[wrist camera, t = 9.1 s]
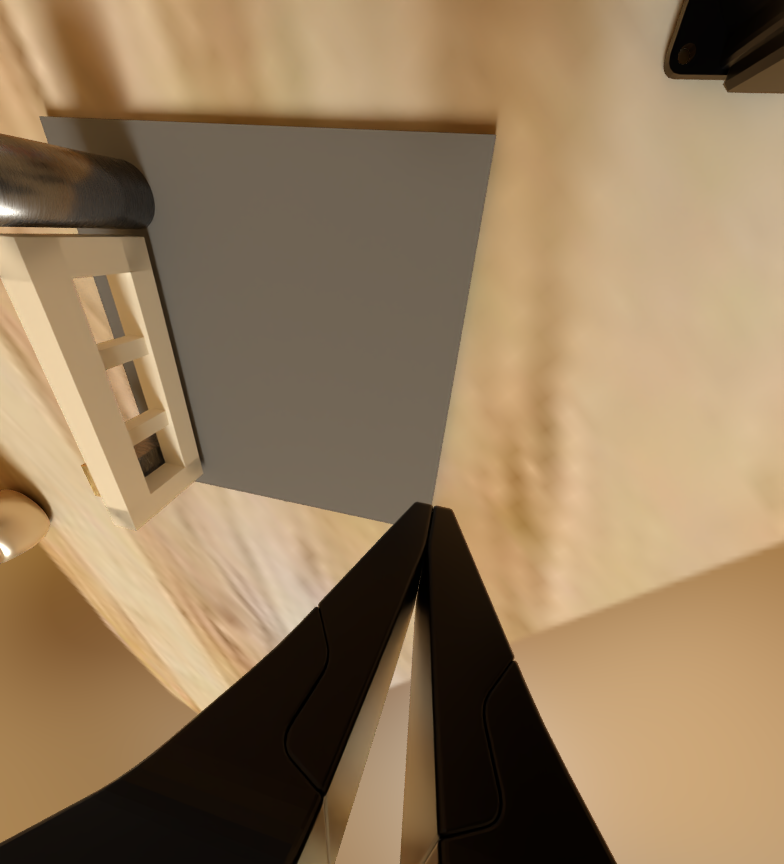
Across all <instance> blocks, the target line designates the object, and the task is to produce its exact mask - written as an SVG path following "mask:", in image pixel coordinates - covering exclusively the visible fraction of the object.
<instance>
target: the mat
mask: <svg viewBox="0 0 784 864" xmlns="http://www.w3.org/2000/svg"><path fill="white" fill-rule="evenodd" d="M39 117H40V120H41V123H42V126H43V129H44V132H45V135H46V138H47V141H48V144H52V145H56V146H61V147H66V148H70V149H75V150H80V151H84V152H89V153H94V154H99V155H103V156H108V157H113V158H117V159H122V160H125V161H127V162H129V163H131V164H133V165H134V166H135V167H136V168H137V169H138V170H139V171H140V172H141V173H142V174H143V175H144V177H145V178H146V180H147V182H148V184H149V186H150V188H151V190H152V193H153V197H154V202H155V214H154V218H153V220H152V222H151V224H150V225H149V226H148V227H146V228H144V229H103V228H77V230H78V233H79V234H121V235H131V236H140V237H144V239H145V243H146V247H147V251H148V255H149V259H150V263H151V267H152V271H153V275H154V279H155V283H156V287H157V291H158V295H159V299H160V303H161V307H162V311H163V315H164V319H165V323H166V327H167V331H168V335H169V339H170V343H171V347H172V351H173V355H174V359H175V362H176V366H177V370H178V374H179V378H180V382H181V386H182V390H183V394H184V398H185V402H186V406H187V410H188V414H189V418H190V422H191V426H192V430H193V434H194V438H195V442H196V446H197V450H198V454H199V458H200V462H201V466H202V470H203V474H202V475H201V476H200V477H199V478H198V479H197V480H195V481H196V482H200V483H205V484H210V485H214V486H219V487H223V488H228V489H233V490H237V491H242V492H247V493H251V494H256V495H260V496H265V497H270V498H274V499H279V500H284V501H288V502H293V503H297V504H302V505H307V506H311V507H316V508H321V509H325V510H330V511H334V512H339V513H344V514H348V515H353V516H358V517H362V518H367V519H371V520H376V521H381V522H385V523H390V524H394V523H395V522H396V521H397V520H398V519H399V518H400V517H401V516H402V515H403V514H404V513H405V512H406V511H407V510H408V509H409V508H410V507H411V505H412V504H413V503H415V502H422V503H427V504H431V505H432V501H433V495H434V489H435V483H436V478H437V472H438V466H439V460H440V455H441V449H442V443H443V437H444V432H445V426H446V420H447V414H448V409H449V403H450V397H451V391H452V386H453V380H454V374H455V369H456V363H457V357H458V351H459V346H460V340H461V334H462V328H463V323H464V317H465V311H466V305H467V300H468V294H469V288H470V282H471V277H472V271H473V265H474V259H475V254H476V248H477V242H478V236H479V231H480V225H481V219H482V213H483V208H484V202H485V196H486V190H487V185H488V179H489V173H490V167H491V162H492V156H493V150H494V145H495V139H496V135H489V134H464V133H439V132H415V131H390V130H365V129H340V128H316V127H291V126H266V125H241V124H217V123H192V122H167V121H142V120H118V119H93V118H68V117H43V116H39ZM93 277H94V280H95V283H96V286H97V289H98V292H99V295H100V298H101V301H102V304H103V307H104V310H105V313H106V315H107V318H108V321H109V324H110V327H111V330H112V333H113V336H114V339H116V338H120V337H123V336H125V333H124V330H123V327H122V324H121V321H120V318H119V314H118V311H117V308H116V305H115V302H114V299H113V295H112V292H111V289H110V286H109V283H108V280H107V276H106V275H101V276H93ZM123 366H124V369H125V372H126V375H127V378H128V381H129V384H130V387H131V389H132V392H133V395H134V398H135V401H136V404H137V407H138V410H139V413H140V414H141V413H143V412H145V411H147V410H148V406H147V403H146V400H145V397H144V394H143V391H142V387H141V384H140V381H139V378H138V375H137V372H136V368H135V365H134V362H133V360H132V361H129V362H126V363H124V364H123Z"/></svg>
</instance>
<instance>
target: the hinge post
mask: <svg viewBox="0 0 784 864" xmlns="http://www.w3.org/2000/svg"><path fill="white" fill-rule="evenodd" d="M154 214H155V202H154V197H153V193H152V190H151V188H150V186H149V184H148V182H147V180H146V178H145V177H144V175H143V174H142V173H141V172H140V171H139V170H138V169H137V168H136V167H135V166H134V165H133V164H131V163H129V162H127V161H125V160H122V159H117V158H113V157H108V156H103V155H99V154H94V153H89V152H84V151H80V150H75V149H70V148H66V147H61V146H56V145H52V144H47V143H42V142H38V141H33V140H28V139H24V138H19V137H14V136H10V135H5V134H0V226H1V227H52V228H103V229H144V228H146V227H148V226H149V225H150V224H151V222H152V220H153V218H154Z"/></svg>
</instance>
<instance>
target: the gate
mask: <svg viewBox="0 0 784 864" xmlns="http://www.w3.org/2000/svg"><path fill="white" fill-rule="evenodd" d="M101 275H106V276H107V280H108V283H109V286H110V289H111V292H112V295H113V299H114V302H115V305H116V308H117V311H118V314H119V318H120V321H121V324H122V327H123V330H124V333H125V336H123V337H120V338H116V339H113V340H109V341H106V342H102V343H99V344H96V342H95V340H94V337H93V334H92V331H91V329H90V326H89V323H88V320H87V317H86V315H85V312H84V309H83V306H82V304H81V301H80V298H79V295H78V293H77V290H76V287H75V284H74V282H73V279H72V278H82V277H92V276H101ZM0 278H1V280H2V282H3V284H4V287H5V289H6V291H7V293H8V295H9V297H10V300H11V302H12V304H13V306H14V308H15V310H16V313H17V315H18V317H19V319H20V321H21V323H22V326H23V328H24V330H25V332H26V334H27V337H28V339H29V341H30V343H31V345H32V347H33V350H34V352H35V354H36V356H37V358H38V360H39V363H40V365H41V367H42V369H43V371H44V373H45V376H46V378H47V380H48V382H49V384H50V387H51V389H52V391H53V393H54V395H55V397H56V400H57V402H58V404H59V406H60V408H61V410H62V413H63V415H64V417H65V419H66V421H67V423H68V426H69V428H70V430H71V432H72V434H73V437H74V439H75V441H76V443H77V445H78V447H79V450H80V452H81V454H82V456H83V458H84V460H85V463H86V465H87V467H88V469H89V471H90V473H91V476H92V478H93V480H94V482H95V484H96V487H97V489H98V491H99V493H100V495H101V497H102V500H103V502H104V504H105V506H106V508H107V510H108V513H109V515H110V517H111V519H112V521H113V523H114V525H115V526H119V527H123V528H127V529H131V530H135V531H137V530H138V529H140V528H141V527H142V526H143V525H144V524H145V523H147V522H148V521H149V520H150V519H151V518H152V517H154V516H155V515H156V514H157V513H158V512H159V511H161V510H162V509H163V508H164V507H165V506H166V505H168V504H169V503H170V502H171V501H172V500H173V499H174V498H176V497H177V496H178V495H179V494H180V493H181V492H183V491H184V490H185V489H186V488H187V487H188V486H190V485H191V484H192V483H193V482H194V481H195V480H197V479H198V478H199V477H200V476H201V475H202V474H203V470H202V466H201V462H200V458H199V454H198V450H197V446H196V442H195V438H194V434H193V430H192V426H191V422H190V418H189V414H188V410H187V406H186V402H185V398H184V394H183V390H182V386H181V382H180V378H179V374H178V370H177V366H176V362H175V359H174V355H173V351H172V347H171V343H170V339H169V335H168V331H167V327H166V323H165V319H164V315H163V311H162V307H161V303H160V299H159V295H158V291H157V287H156V283H155V279H154V275H153V271H152V267H151V263H150V259H149V255H148V251H147V247H146V243H145V239H144V237H140V236H131V235H121V234H0ZM132 360H133V362H134V365H135V368H136V372H137V375H138V378H139V381H140V384H141V387H142V391H143V394H144V397H145V400H146V403H147V406H148V410H147V411H145V412H143V413H141V414H140V415H138V416H136V417H134V418H132V419H130V420H128V421H126V422H124V419H123V417H122V414H121V411H120V408H119V406H118V403H117V400H116V397H115V395H114V392H113V389H112V386H111V384H110V381H109V378H108V375H107V373H106V370H107V369H110V368H112V367H115V366H118V365H121V364H124V363H126V362H129V361H132ZM154 433H156V435H157V438H158V441H159V444H160V448H161V451H162V454H163V457H164V460H165V463H164V464H163V465H162V466H160V467H159V468H157V469H156V470H155V471H153V472H152V473H150V474H149V475H148V476H146V477H144V475H143V472H142V469H141V466H140V464H139V461H138V458H137V455H136V453H135V450H134V447H133V446H134V445H136V444H138V443H139V442H141V441H143V440H144V439H146V438H148V437H149V436H151V435H153V434H154Z"/></svg>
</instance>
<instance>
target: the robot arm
mask: <svg viewBox="0 0 784 864" xmlns="http://www.w3.org/2000/svg"><path fill="white" fill-rule="evenodd" d="M684 48H685V49H688V50H689V53H690V57H689V60H688V62H687V64H684V65H682V64H680V63H679V62H678V53H679V52H680V50H681V49H684ZM664 72H665V74H666V75H667V77H668V78H672V79H699V80H725V81H724V84H723V85H724V87H725V89H726V90H727V92H735V93H784V0H685V1H684V4H683V7H682V10H681V13H680V16H679V19H678V22H677V25H676V28H675V31H674V34H673V37H672V40H671V43H670V46H669V48H668V51H667V54H666V57H665V62H664ZM432 511H433V512H432ZM420 576H421V577H420ZM419 581H420V582H419ZM418 587H419V588H418ZM417 592H418V593H417ZM416 597H417V600H416ZM415 601H416V608H415V622H414V638H413V655H412V672H411V689H410V705H409V722H408V738H407V755H406V772H405V789H404V805H403V822H402V839H401V855H400V864H617V863H616V861H615V859H614V857H613V855H612V853H611V852H610V850H609V848H608V846H607V844H606V842H605V840H604V838H603V837H602V835H601V833H600V831H599V829H598V827H597V825H596V823H595V821H594V820H593V818H592V816H591V814H590V812H589V810H588V808H587V806H586V804H585V802H584V800H583V799H582V797H581V795H580V793H579V791H578V789H577V787H576V785H575V783H574V782H573V780H572V778H571V776H570V774H569V772H568V770H567V768H566V766H565V764H564V762H563V760H562V759H561V756H560V755H559V752H558V750H557V748H556V746H555V744H554V743H553V740H552V739H551V737H550V735H549V733H548V731H547V729H546V727H545V725H544V722H543V720H542V718H541V716H540V714H539V711H538V709H537V707H536V705H535V703H534V700H533V698H532V696H531V694H530V692H529V689H528V687H527V685H526V682H525V680H524V678H523V675H522V673H521V670H520V668H519V666H518V663H517V662H516V661H513V660H514V654H513V652H512V650H511V647H510V645H509V643H508V640H507V638H506V635H505V633H504V631H503V628H502V626H501V624H500V621H499V619H498V616H497V614H496V612H495V609H494V607H493V605H492V602H491V600H490V598H489V595H488V593H487V590H486V588H485V586H484V583H483V581H482V579H481V576H480V574H479V571H478V569H477V567H476V564H475V562H474V560H473V557H472V555H471V553H470V550H469V548H468V545H467V543H466V541H465V538H464V536H463V534H462V531H461V529H460V527H459V524H458V522H457V519H456V517H455V515H454V512H453V511H452V509H450V508H446V507H441V506H434V508H433V506H432V505H431V504H427V503H422V502H415V503H413V504H412V505H411V507H410V508H409V509H408V510H407V511H406V512H405V513H404V514H403V515H402V516H401V517H400V518H399V519H398V520H397V521H396V522H395V523H394V524H393V526H392V527H391V528H390V529H389V530H388V531H387V532H386V533H385V534H384V535H383V536H382V537H381V538H380V539H379V540H378V541H377V542H376V544H375V545H374V546H373V547H372V548H371V549H370V550H369V551H368V552H367V553H366V554H365V555H364V556H363V557H362V558H361V559H360V560H359V561H358V563H357V564H356V565H355V566H354V567H353V568H352V569H351V570H350V571H349V572H348V573H347V574H346V575H345V576H344V577H343V578H342V579H341V581H340V582H339V583H338V584H337V585H336V586H335V587H334V588H333V589H332V590H331V591H330V592H329V593H328V594H327V595H326V596H325V597H324V598H323V600H322V601H321V602H320V603H319V604H318V607H315V608H314V609H313V610H312V611H311V612H310V613H309V614H308V615H307V616H306V617H305V618H304V619H303V620H302V621H301V623H300V624H299V625H298V626H297V627H296V628H295V629H294V630H293V631H292V632H291V633H290V634H288V635H287V636H286V637H285V638H284V639H283V640H282V641H281V642H280V643H279V644H278V645H277V646H276V647H275V648H274V649H273V650H272V651H271V652H270V653H269V654H267V655H266V656H265V657H264V658H263V659H262V660H261V661H260V662H259V663H257V664H256V665H255V666H254V667H253V668H252V669H251V670H250V671H249V672H247V673H246V674H245V675H244V676H243V677H242V678H240V679H239V680H238V681H237V682H236V683H235V684H233V685H232V686H231V687H230V688H229V689H228V690H226V691H225V692H224V693H223V694H222V695H220V696H219V697H218V698H217V699H216V700H215V701H213V702H212V703H211V704H210V705H209V706H208V707H206V708H205V709H204V710H203V711H202V712H201V713H199V714H198V715H197V716H196V717H195V718H194V719H192V720H191V721H190V722H189V723H188V724H187V725H185V726H184V727H183V728H182V729H181V730H180V731H179V732H178V733H176V734H175V735H174V736H173V737H172V738H170V739H169V740H168V741H167V742H165V743H164V744H163V745H162V746H161V747H159V748H158V749H157V750H156V751H155V752H153V753H152V754H151V755H150V756H148V757H147V758H146V759H144V760H143V761H142V762H140V763H139V764H138V765H136V766H135V767H134V768H132V769H131V770H129V771H128V772H126V773H125V774H123V775H122V776H120V777H119V778H117V779H116V780H114V781H113V782H111V783H109V784H108V785H106V786H104V787H103V788H101V789H100V790H98V791H96V792H94V793H93V794H91V795H89V796H87V797H85V798H83V799H82V800H80V801H78V802H76V803H74V804H72V805H70V806H68V807H67V808H65V809H63V810H61V811H59V812H57V813H56V814H54V815H52V816H50V817H48V818H46V819H44V820H42V821H41V822H39V823H37V824H35V825H33V826H31V827H30V828H28V829H26V830H24V831H22V832H20V833H18V834H16V835H15V836H13V837H11V838H9V839H7V840H5V841H3V842H1V843H0V864H335V861H336V857H337V854H338V851H339V848H340V844H341V841H342V838H343V835H344V831H345V828H346V825H347V822H348V818H349V815H350V812H351V809H352V806H353V803H354V799H355V796H356V793H357V790H358V787H359V783H360V780H361V777H362V774H363V770H364V767H365V764H366V761H367V758H368V754H369V751H370V748H371V744H372V742H373V738H374V735H375V732H376V729H377V725H378V722H379V719H380V716H381V713H382V709H383V706H384V703H385V700H386V696H387V693H388V690H389V687H390V684H391V680H392V677H393V674H394V671H395V668H396V664H397V661H398V658H399V655H400V651H401V648H402V645H403V642H404V639H405V635H406V632H407V629H408V626H409V622H410V619H411V616H412V613H413V609H414V605H415Z"/></svg>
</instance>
